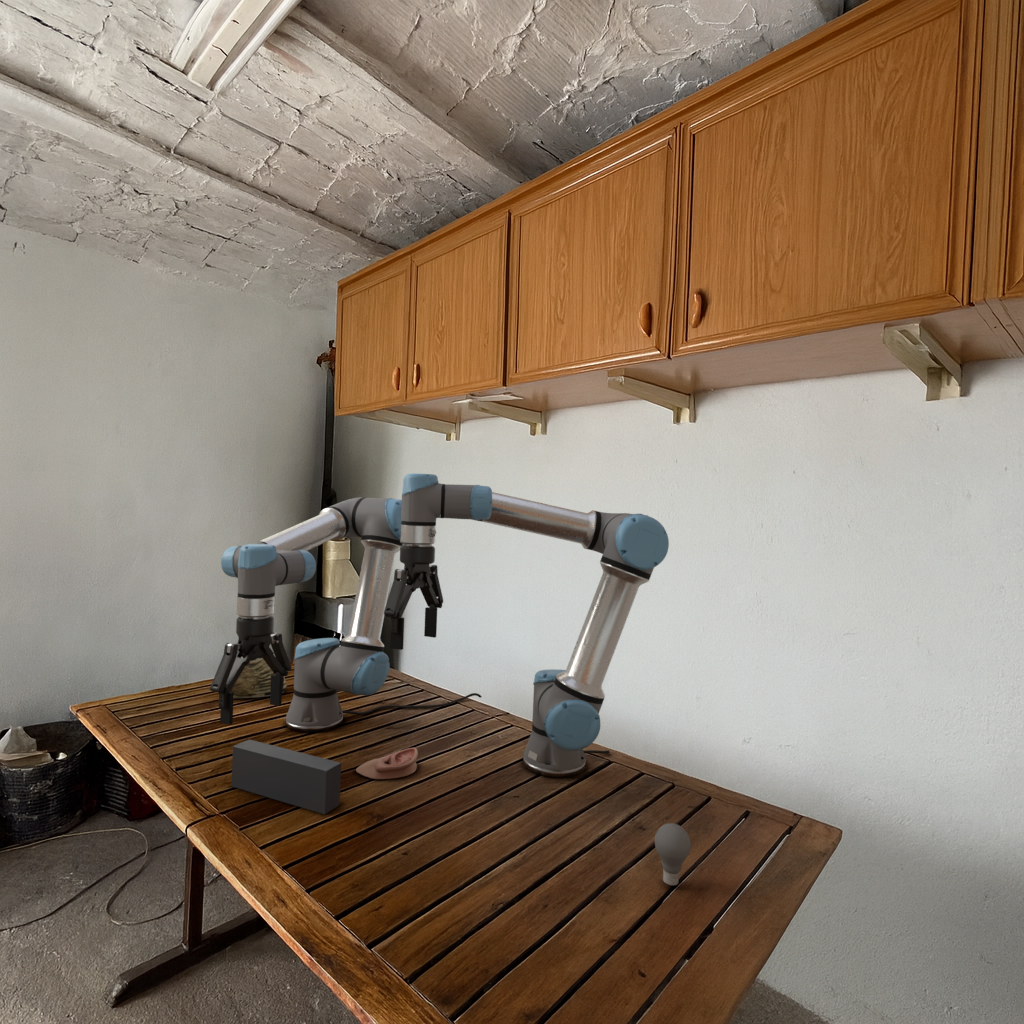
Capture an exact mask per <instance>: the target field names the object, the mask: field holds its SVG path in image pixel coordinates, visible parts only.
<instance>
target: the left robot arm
mask: <svg viewBox="0 0 1024 1024" xmlns="http://www.w3.org/2000/svg"><path fill="white" fill-rule="evenodd" d="M401 510H402V499H397V498H393V497H388V498H387V497H381V498H380V497H366V496H365V497H364V496H363V497H353V498H349V499H345V500H343V501H340V502H337V503H335V504H333V505H330V506H328V507H325V508H323V509H322V510H321V511H319V513H318V515H316V516H314V517H312V518H309V519H307V520H304V521H302V522H300V523H297V524H295V525H293V526H291V527H288V528H286V529H284V530H282V531H280V532H277V533H274V534H272V535H270V536H267V537H266V538H264V539H261V540H259V541H256V542H254V543H248V544H247V543H246V544H243V545H238V546H237V545H233V546H230V547H228V548H227V549H225V550H224V552H222V555H221V559H220V565H221V571H222V572H223V573H224V574H225V575H226V576H228V577H231V578H236V579H237V600H236V615H237V616H238V617H236V620H235V621H236V623H235V625H236V626H235V634H236V635H237V637H238V638H237V642H236V643H233V642H232V643H231V642H226V643H225V644H224V649H223V655H222V657H221V660H220V662H219V665H218V667H217V669H216V673H215V675H214V677H213V680H212V682H211V685H210V687H209V690H210V692H214V693H218V706H217V707H218V708H219V709H220V715H219V717H220V718H219V723H221V724H225V725H227V726H228V725H229V726H230V725H233V723H234V699H235V698H234V692H230V691H231V689H232V688H233V686H234V684H235V683H236V681H237V679H238V678H239V676H240V674H241V673H242V671H243V669H244V668H245V666H246V665H247V664H249V662H250V661H253V660H256V659H257V658H260V659H261V658H263V659H264V661H265V662H266V663H267V665H268V666H269V667H270V669H271V670H272V671H273V673H274V674H275V675H272V676H271V688H270V696H269V705H271V706H275V707H281V706H282V699H283V693H282V689H283V687H284V677H288V675H289V672H291V671H292V668H293V695H292V696H293V697H292V699H291V702H290V704H289V708H288V711H287V713H286V715H285V726H286V728H287V729H289V730H291V731H294V732H295V731H296V732H301V733H316V732H325V731H329V730H332V729H335V728H337V727H339V726H340V725H342V723H343V722H344V714H349V715H356V716H363V715H368V714H371V713H373V712H375V711H378V710H380V709H382V710H383V709H389V708H390V709H391V708H395V709H396V708H397V709H432V708H440V707H441V708H442V707H446V706H450V705H453V704H456V703H457V702H458V703H459V702H462V701H464V700H467V699H468V698H471V697H474V696H475V697H478V698H483V696H482V695H481V694H479V693H476V692H473V693H469V694H467V695H465V696H463V697H459V698H456V699H453V700H451V701H448V702H445V703H439V704H427V705H424V704H423V705H422V704H421V705H405V704H404V705H401V704H399V705H398V704H385V705H380V706H376V707H374V708H371V709H369V710H366V711H354V710H344V709H342V706H341V702H340V699H339V695H338V692H343V693H349V694H353V696H354V695H355V696H372V695H374V694H376V693H377V692H379V691H380V689H381V688H382V687H383V686H384V684H385V683H386V681H387V678H388V675H389V672H390V667H391V665H390V658H389V656H388V655H387V654H386V653H385V652H384V650H385V644H384V643H383V642H382V639H381V636H382V630H383V624H384V619H385V615H384V610H385V607H386V604H387V600H388V597H389V593H390V586H391V580H392V575H393V570H394V564H395V560H396V559H395V558H396V554H397V553H398V552H400V547H401V546H402V545H403V543H401V542H400V534H401ZM343 538H360V543H361V545H362V546H363V547H364V553H363V557H362V563H361V566H360V567H361V568H360V573H359V578H358V582H357V588H356V593H355V597H354V603H353V608H352V614H351V618H350V624H349V629H348V633H347V635H346V636H344V637H343V638H342V639H341V641H340V640H339V638H336V637H322V638H313V639H307V640H304V641H302V642H299V643H298V644H297V645H296V647H295V652H294V653H295V654H294V657H293V659H294V660H293V662H294V663H293V665H294V667H292V665H291V661H290V659H289V656H288V653H287V651H286V648H285V645H284V643H283V633H280V632H274V630H275V628H274V626H275V617H274V616H273V615H274V614H275V598H276V597H275V596H276V587H277V586H285V585H291V584H300V583H304V582H307V581H309V580H311V579H312V578H313V577H314V575H315V573H316V571H317V561H316V559H315V557H314V556H313V554H312V553H311V552H310V550H313V549H314V548H316V547H318V546H321V545H323V544H325V543H327V542H329V541H333V542H334V541H339V540H342V539H343ZM270 646H271V647H270ZM241 657H243V658H241ZM226 685H227V686H226ZM225 686H226V687H225Z"/></svg>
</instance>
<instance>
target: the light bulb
mask: <svg viewBox="0 0 1024 1024" xmlns="http://www.w3.org/2000/svg"><path fill="white" fill-rule="evenodd" d="M654 847H655V850H656V852H657V854H658V856H659V858H660V860H661V867H662V869H663V870H662V871H663V873H662V881H663V882H664V883H665V884H667V885H669V886H677V885H678V884H679V880H680V879H679V876H680V871H681V870H682V866H683V863H684V862H685V860H687V857H688V856H689V855H690V852H691V849H692V842H691V838H690V836H689V834H688V832H687V831H686V830H685V829H684V828H683V827H682V826H681V825H679V824H678V823H671V822H669V823H665V824H663V825H662V826H660V827H659V828H658V829H657V831H656V832H655V835H654Z"/></svg>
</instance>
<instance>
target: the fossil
mask: <svg viewBox="0 0 1024 1024" xmlns="http://www.w3.org/2000/svg"><path fill="white" fill-rule="evenodd" d="M241 658H243V657H241ZM272 675H275V674H274V673H273V671H272V670H271V669H270V667H269V666H268V665H267V663H266V662H265V661H264V659H263V658H261V659H260V658H257V659H256V660H253V661H250V662H249V664H247V665H246V666H245V668H244V669H243V671H242V673H241V674H240V676H239V678H238V679H237V681H236V683H235V684H234V686H233V688H232V689H231V691H230V692H234V698H233V699H250V698H264V697H270V688H271V676H272ZM285 677H286V676H284V687H283V689H282V694H284V693H285V691H286V689H287V687H288V686H287V680H286V678H285ZM226 686H227V685H226ZM226 686H225V687H226Z"/></svg>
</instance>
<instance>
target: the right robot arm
mask: <svg viewBox="0 0 1024 1024" xmlns="http://www.w3.org/2000/svg"><path fill="white" fill-rule="evenodd" d="M438 478H439V477H438V476H437V475H436V474H433V473H413V472H412V473H407V474H405V475H404V476H403V478H402V489H401V491H402V492H401V500H402V510H401V534H400V542H401V543H403V545H402V546H401V547H400V551H399V562H400V563H402V564H403V565H404V566H403V569H401V568H396V569H394V573H393V581H392V585H391V588H390V590H389V593H388V598H387V603H386V607H385V610H384V616H385V617H386V618H390V629H389V630H390V631H389V632H390V639H389V640H390V641H389V648H390V649H392V650H393V649H394V650H400V651H402V650H403V649H404V635H405V617H403V614H404V612H405V610H406V608H407V606H408V604H409V601H410V599H411V597H412V595H413V593H414V592H416V590H417V589H419V590H420V592H421V594H422V596H423V599H424V601H425V603H426V606H427V607H425V608H424V635H423V636H424V637H426V638H427V637H428V638H437V629H438V628H437V627H438V609H442V608H443V603H444V598H443V593H442V588H441V584H440V579H439V575H438V572H439V571H438V565H437V564H434V563H435V561H436V560H435V559H436V548H435V546H433V545H434V544H436V535H437V530H436V529H437V519H452V520H472V521H475V522H476V521H477V522H483V523H486V524H489V525H496V526H500V527H504V528H509V529H513V530H518V531H522V532H527V533H532V534H536V535H540V536H545V537H549V538H554V539H558V540H563V541H568V542H572V543H576V544H580V545H581V546H582V549H585V550H588V551H592V552H596V553H599V554H601V555H602V556H601V557H600V561H599V564H600V567H601V569H602V574H601V577H600V579H599V582H598V585H597V587H596V590H595V593H594V595H593V597H592V601H591V603H590V606H589V609H588V611H587V614H586V616H585V618H584V621H583V624H582V627H581V629H580V632H579V634H578V638H577V640H576V643H575V645H574V648H573V650H572V653H571V656H570V659H569V660H568V664H567V666H566V669H541V670H538V671H537V672H536V673H535V674H534V680H533V683H532V685H533V700H532V702H533V703H532V721H531V725H532V726H531V733H530V736H529V738H528V741H527V743H526V747H525V749H524V751H523V754H522V755H523V757H522V763H523V765H524V767H525V768H526V769H527V770H528V771H529V772H532V773H535V774H536V775H540V776H545V777H550V778H567V777H568V778H569V777H573V776H577V775H579V774H581V773H582V772H584V771H585V769H586V756H585V755H586V754H599V755H604V754H605V755H607V754H610V750H598V749H597V750H596V749H594V750H593V749H590V750H589V749H587V750H585V749H584V748H588V747H589V746H590V745H592V744H593V743H594V742H595V741H596V739H597V738H598V736H599V735H600V731H601V716H600V711H601V710H602V709H601V708H602V707H603V703H604V701H605V697H606V693H605V692H604V689H603V684H604V682H605V678H606V675H607V673H608V670H609V667H610V666H611V663H612V660H613V656H614V654H615V651H616V649H617V647H618V644H619V641H620V639H621V636H622V633H623V630H624V628H625V625H626V623H627V620H628V618H629V615H630V612H631V610H632V607H633V604H634V601H635V600H636V597H637V594H638V592H639V589H640V586H642V585H644V584H647V583H648V582H650V579H651V577H652V574H653V571H654V570H655V568H656V567H657V566H659V565H660V564H662V562H663V561H664V560H665V558H666V557H667V555H668V552H669V547H670V544H669V543H670V542H669V541H670V539H669V536H668V535H669V534H668V533H667V530H666V529H665V527H664V526H663V524H662V523H661V522H660V521H659V520H657V519H656V518H654V517H652V516H649V515H648V514H643V513H629V512H628V513H627V512H623V513H622V512H620V513H617V512H616V513H615V512H614V513H613V512H603V511H597V510H590V511H589V512H583V511H578V510H575V509H570V508H565V507H562V506H556V505H552V504H549V503H548V504H547V503H543V502H539V501H534V500H531V499H530V500H529V499H524V498H522V497H521V498H520V497H516V496H511V495H507V494H503V493H498V492H495V491H493V490H492V487H490V486H488V485H480V484H445V483H439V479H438Z"/></svg>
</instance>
